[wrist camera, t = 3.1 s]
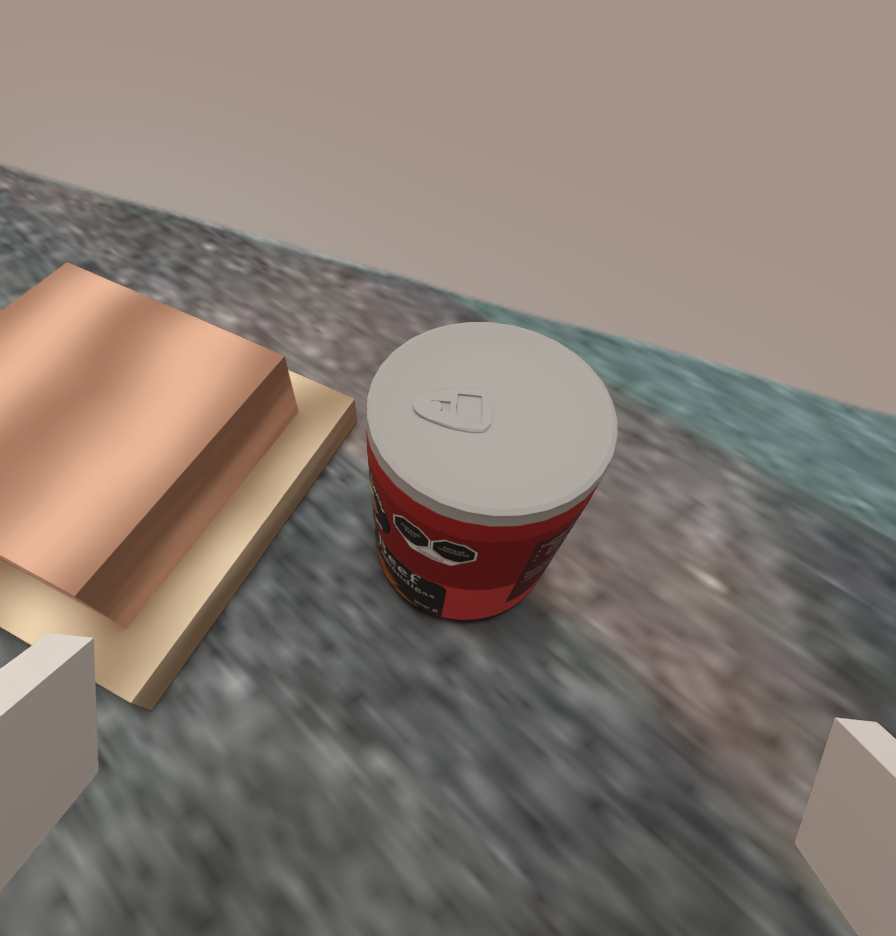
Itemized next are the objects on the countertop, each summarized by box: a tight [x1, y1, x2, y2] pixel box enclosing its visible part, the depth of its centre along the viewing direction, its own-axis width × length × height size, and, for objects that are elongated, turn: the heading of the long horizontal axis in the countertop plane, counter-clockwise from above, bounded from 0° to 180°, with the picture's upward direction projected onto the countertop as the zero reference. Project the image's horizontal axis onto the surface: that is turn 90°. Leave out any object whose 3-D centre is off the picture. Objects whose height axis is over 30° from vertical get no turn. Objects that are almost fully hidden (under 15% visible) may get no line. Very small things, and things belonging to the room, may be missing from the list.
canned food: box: [366, 322, 617, 620], centre depth 22 cm, size 8×8×11 cm
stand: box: [0, 262, 357, 711], centre depth 25 cm, size 16×16×6 cm
